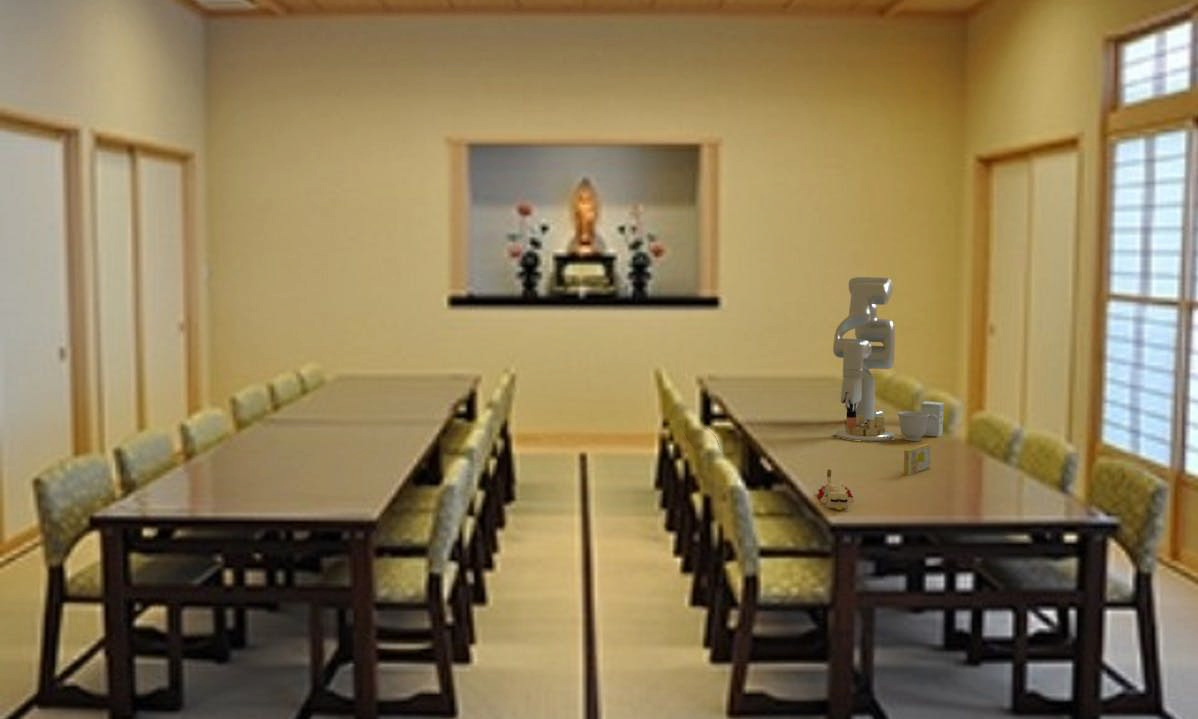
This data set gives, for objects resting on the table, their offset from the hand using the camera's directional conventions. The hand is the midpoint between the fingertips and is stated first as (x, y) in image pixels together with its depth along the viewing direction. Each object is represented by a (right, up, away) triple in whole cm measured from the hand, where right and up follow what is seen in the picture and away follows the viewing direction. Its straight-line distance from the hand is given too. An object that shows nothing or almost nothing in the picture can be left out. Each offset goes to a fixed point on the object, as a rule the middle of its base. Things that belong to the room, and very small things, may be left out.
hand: (851, 421), depth 476 cm
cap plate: (+5, -6, -1) cm, 8 cm away
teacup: (+23, -7, -6) cm, 25 cm away
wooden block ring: (+5, -4, -1) cm, 7 cm away
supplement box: (+32, -6, +6) cm, 33 cm away
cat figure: (-29, -18, -119) cm, 124 cm away
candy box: (+7, -13, -70) cm, 71 cm away
